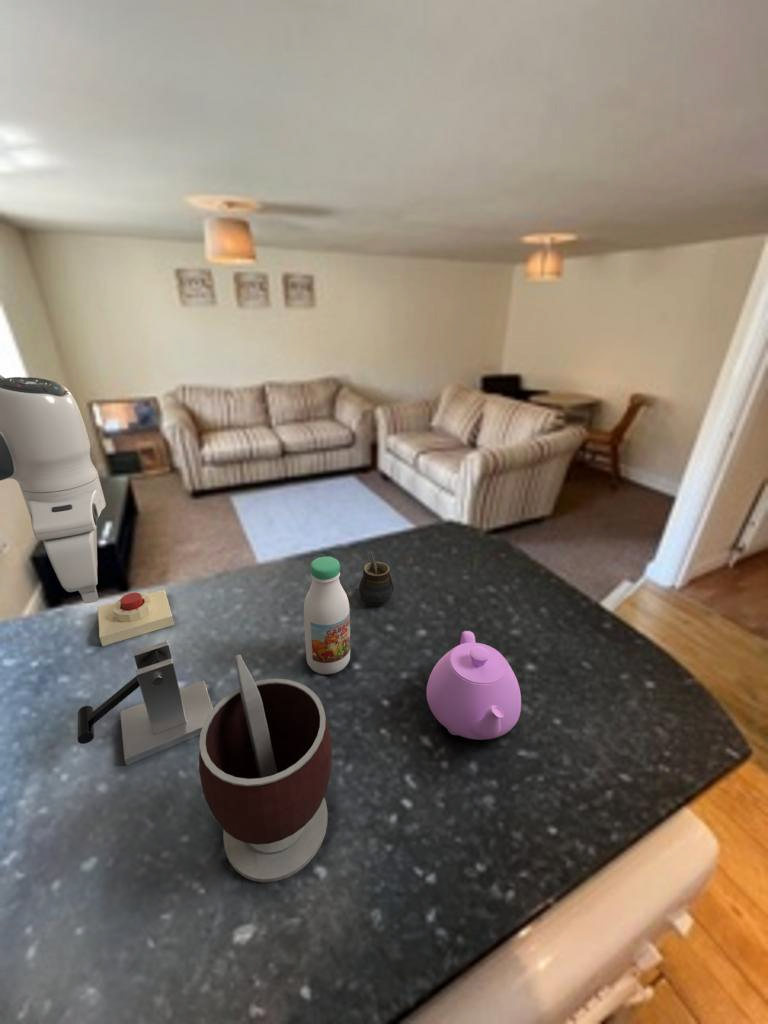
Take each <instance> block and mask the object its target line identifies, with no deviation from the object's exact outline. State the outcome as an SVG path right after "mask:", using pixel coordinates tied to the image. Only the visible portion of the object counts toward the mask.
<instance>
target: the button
mask: <svg viewBox="0 0 768 1024" xmlns="http://www.w3.org/2000/svg"><path fill="white" fill-rule="evenodd" d="M141 594H142V593H140V592H136V591H135V592H130V593H127V594H124V595H122V596H121V597H120V599H121V600H120V599H119V600H120V602H121V606H122V609H123V610H125V611H131V610H134V609H137V608H139V607H141V606H142V605H143V599H142V595H141Z"/></svg>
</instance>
